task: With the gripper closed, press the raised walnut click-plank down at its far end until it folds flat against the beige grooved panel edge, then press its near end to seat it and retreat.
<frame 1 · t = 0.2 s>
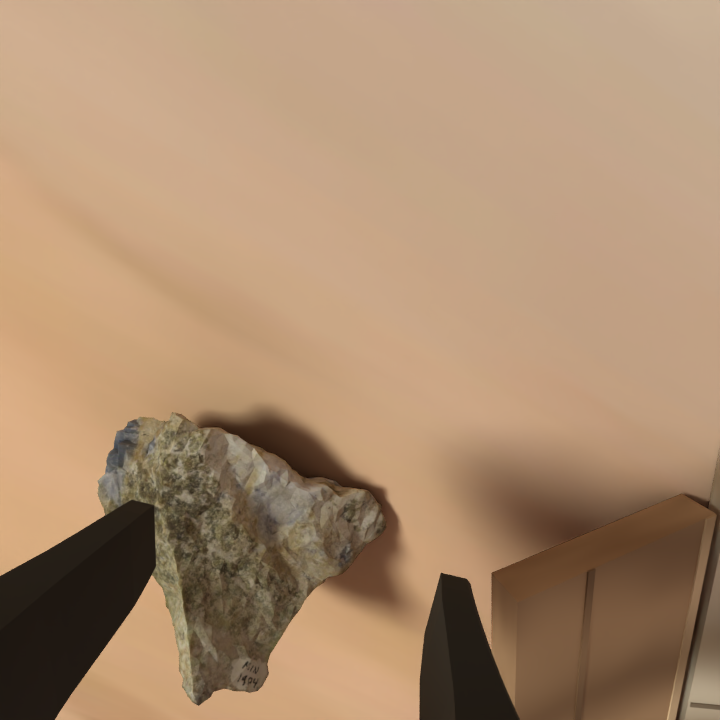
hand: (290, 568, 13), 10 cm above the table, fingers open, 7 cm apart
rock: (261, 466, 25), on the table
plank: (593, 686, 22), point 3 cm above the table, hinge at 32.0°
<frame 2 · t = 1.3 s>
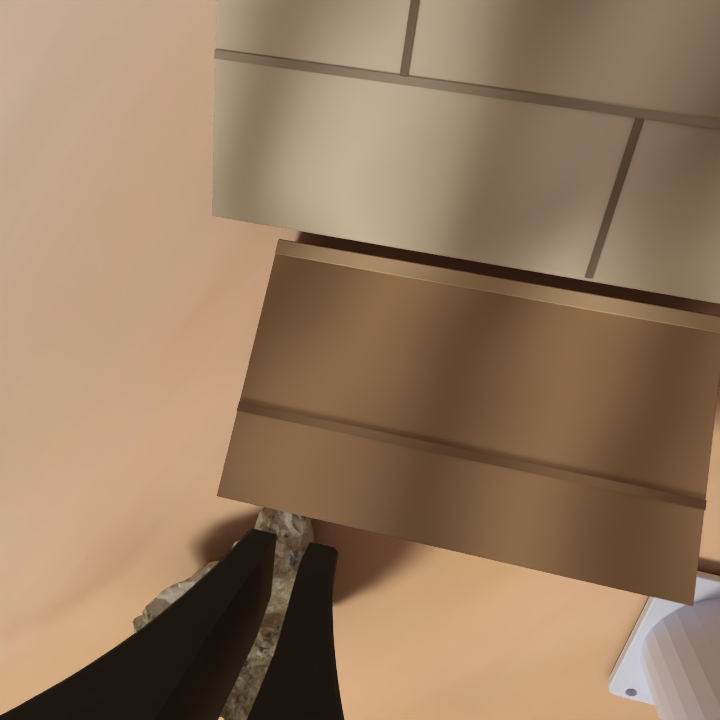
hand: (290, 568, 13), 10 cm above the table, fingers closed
rock: (253, 571, 27), on the table
plank: (466, 408, 18), point 3 cm above the table, hinge at 32.0°
beige grooved panel: (530, 102, 17), on the table
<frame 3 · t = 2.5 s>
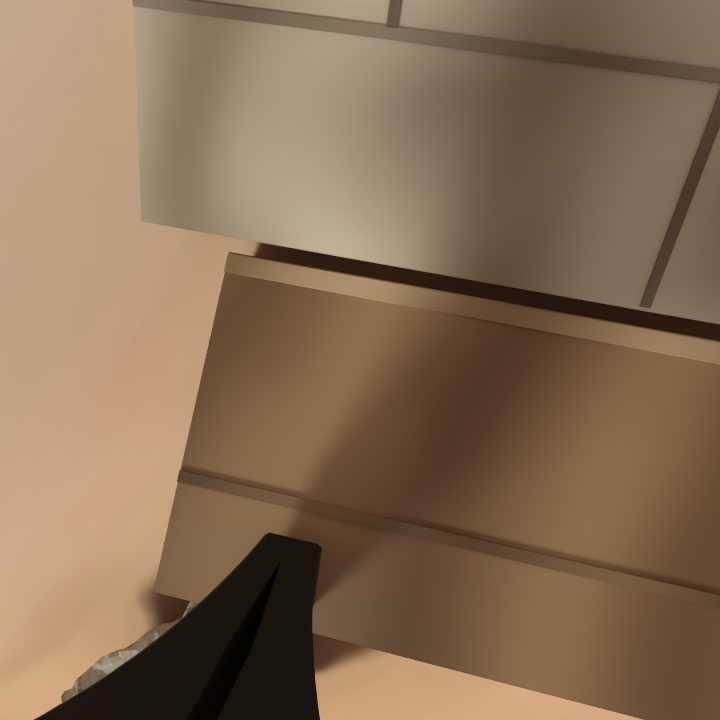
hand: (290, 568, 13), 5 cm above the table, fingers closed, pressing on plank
rock: (217, 629, 22), on the table
plank: (476, 477, 13), point 3 cm above the table, hinge at 27.2°, touching gripper
beige grooved panel: (567, 66, 12), on the table
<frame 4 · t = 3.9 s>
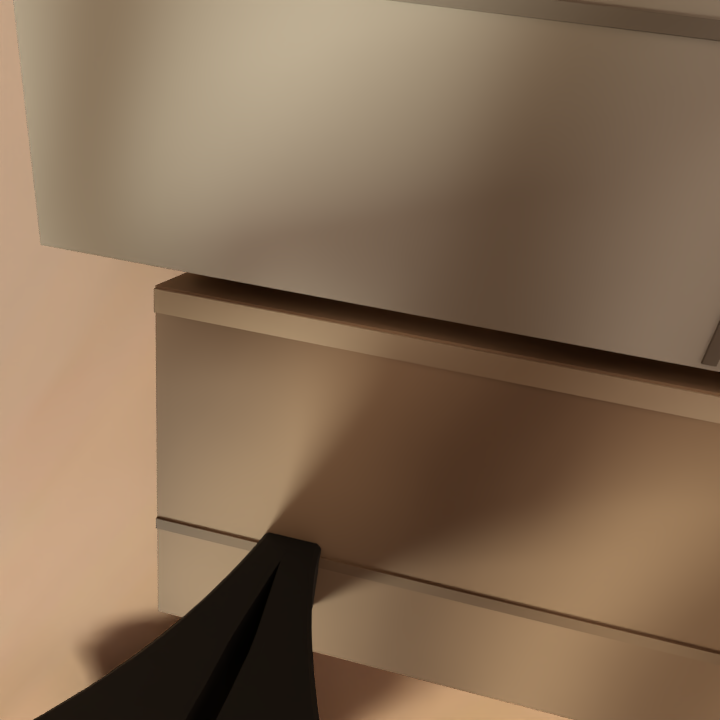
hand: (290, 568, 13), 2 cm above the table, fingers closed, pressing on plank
plank: (474, 524, 12), point 1 cm above the table, hinge at 1.6°, touching gripper
beige grooved panel: (604, 37, 9), on the table
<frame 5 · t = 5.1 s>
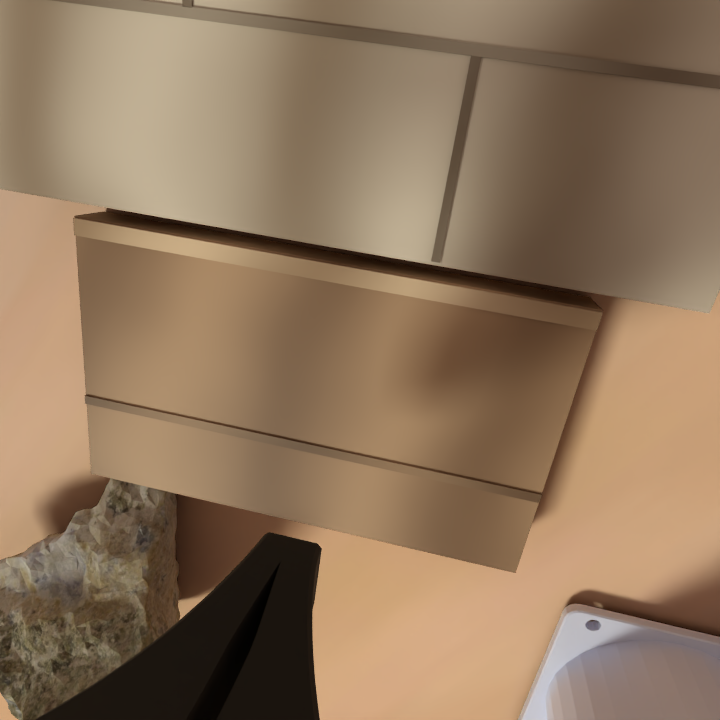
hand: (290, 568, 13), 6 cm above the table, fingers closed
rock: (116, 550, 23), on the table
plank: (313, 395, 17), point 1 cm above the table, hinge at 1.7°
beige grooved panel: (359, 44, 13), on the table
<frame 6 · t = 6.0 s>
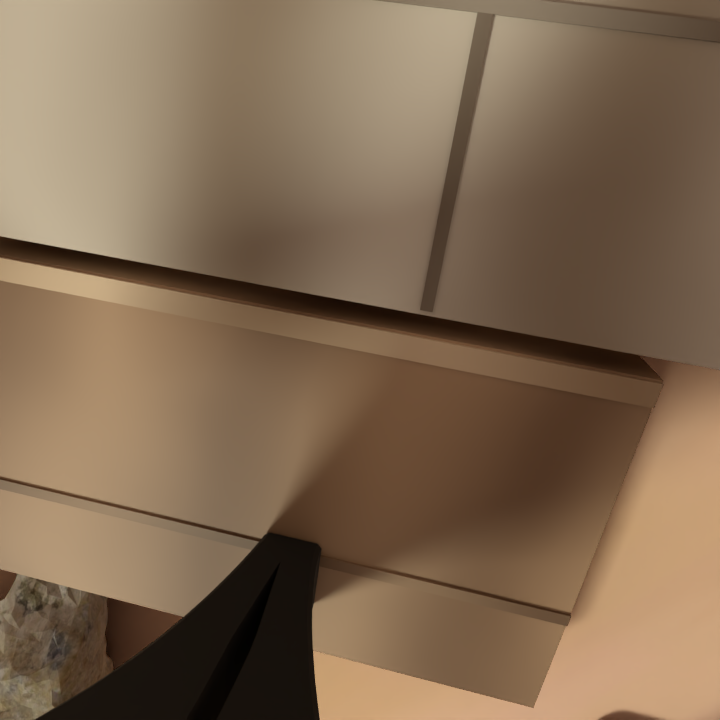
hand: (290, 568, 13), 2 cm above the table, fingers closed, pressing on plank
rock: (41, 635, 19), on the table
plank: (266, 476, 13), point 1 cm above the table, hinge at 2.0°, touching gripper
beige grooved panel: (317, 2, 9), on the table
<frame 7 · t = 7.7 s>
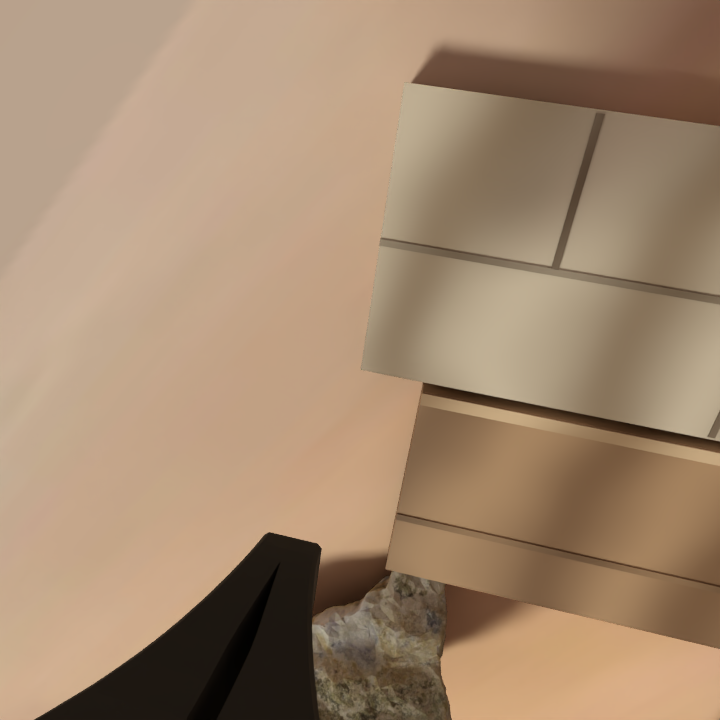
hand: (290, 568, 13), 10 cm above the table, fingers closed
rock: (359, 612, 28), on the table
plank: (580, 517, 22), point 1 cm above the table, hinge at 1.8°
beige grooved panel: (661, 282, 18), on the table
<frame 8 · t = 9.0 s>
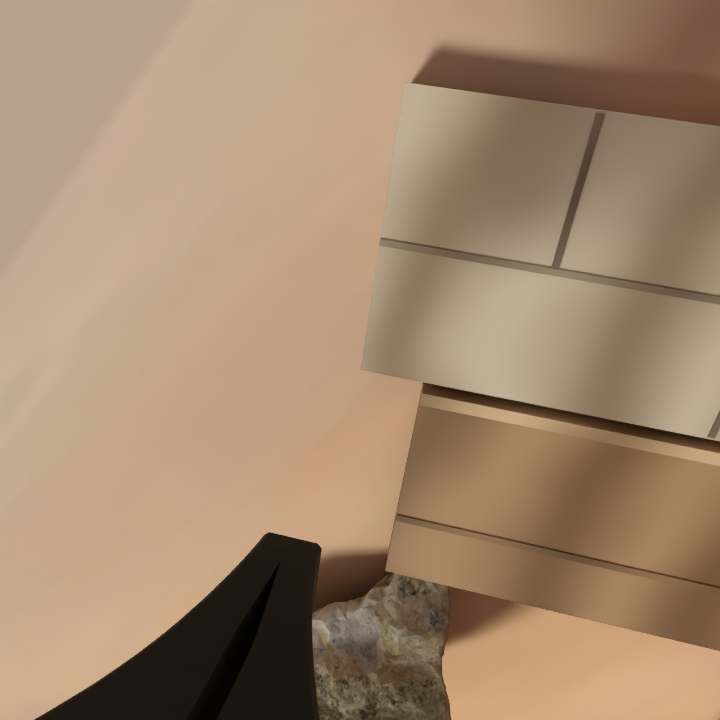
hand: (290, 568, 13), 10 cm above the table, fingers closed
rock: (358, 609, 28), on the table
plank: (581, 518, 22), point 1 cm above the table, hinge at 2.5°
beige grooved panel: (661, 282, 18), on the table
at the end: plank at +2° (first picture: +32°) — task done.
